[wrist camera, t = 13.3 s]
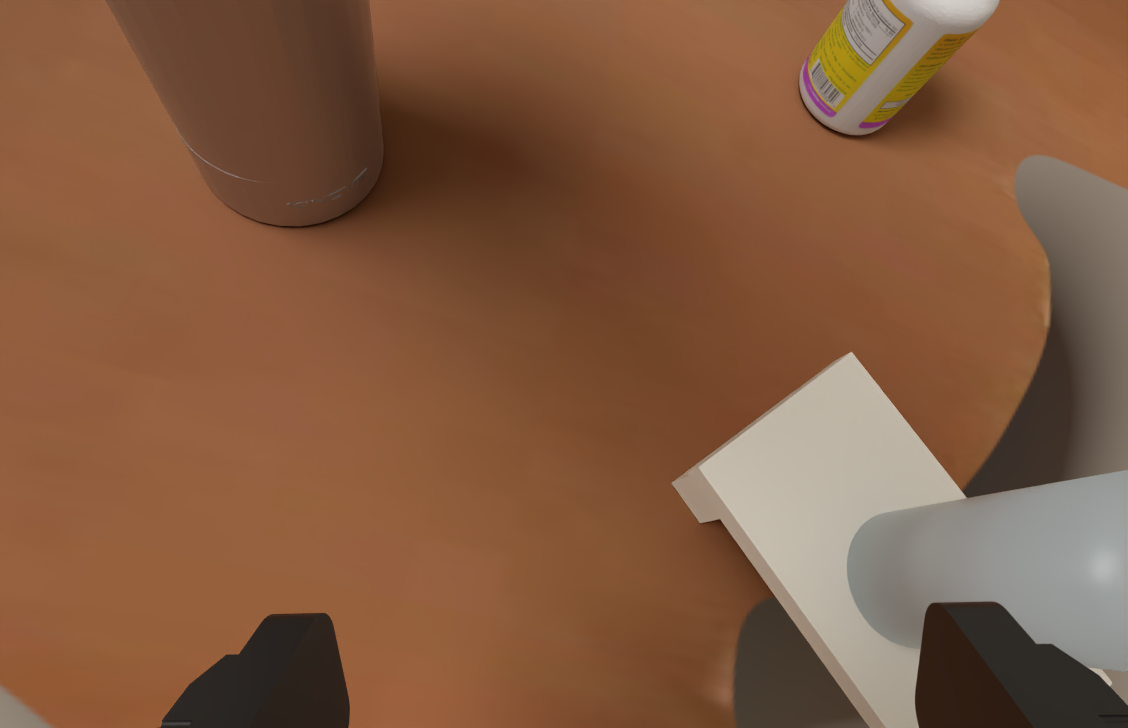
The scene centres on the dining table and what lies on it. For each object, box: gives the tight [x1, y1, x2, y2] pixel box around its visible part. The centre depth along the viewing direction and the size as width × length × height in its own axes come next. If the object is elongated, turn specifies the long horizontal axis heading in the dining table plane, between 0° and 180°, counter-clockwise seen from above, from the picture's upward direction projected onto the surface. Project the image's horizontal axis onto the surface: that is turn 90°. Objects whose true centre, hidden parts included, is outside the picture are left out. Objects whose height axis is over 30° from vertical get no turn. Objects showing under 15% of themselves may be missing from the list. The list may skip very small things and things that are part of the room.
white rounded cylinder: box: [847, 470, 1128, 672], centre depth 24 cm, size 6×6×11 cm
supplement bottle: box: [799, 0, 1000, 135], centre depth 38 cm, size 7×7×13 cm
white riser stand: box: [672, 352, 1112, 728], centre depth 31 cm, size 18×10×5 cm, turn 35°
